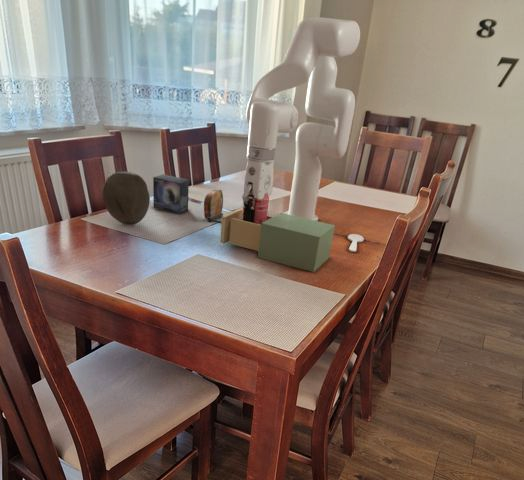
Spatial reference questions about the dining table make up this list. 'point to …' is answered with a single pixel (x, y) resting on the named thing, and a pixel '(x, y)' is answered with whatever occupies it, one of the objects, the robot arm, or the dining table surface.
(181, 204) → the small box
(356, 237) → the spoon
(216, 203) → the tin
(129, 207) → the cantaloupe
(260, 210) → the soda can
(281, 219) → the cabinet
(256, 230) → the drawer
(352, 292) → the dining table surface
